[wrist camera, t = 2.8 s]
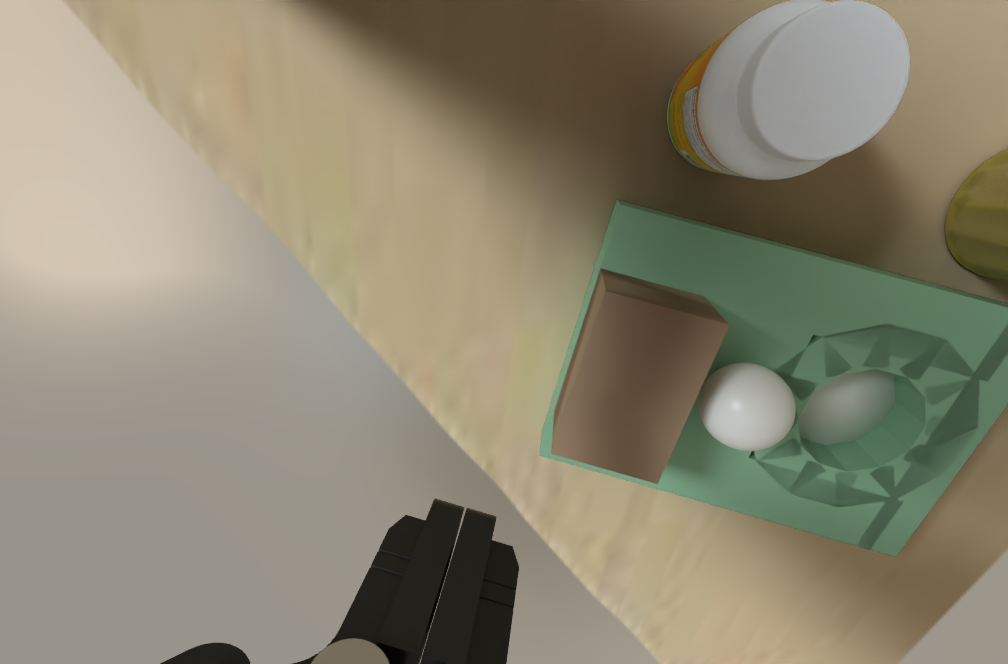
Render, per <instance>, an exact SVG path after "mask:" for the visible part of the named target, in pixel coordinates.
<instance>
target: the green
mask: <svg viewBox="0 0 1008 664" xmlns="http://www.w3.org/2000/svg"><path fill="white" fill-rule="evenodd" d="M600 268H602V269H605V270H609V271H613V272H616V273H620V274H624V275H628V276H631V277H635V278H639V279H642V280H646V281H650V282H653V283H657V284H661V285H664V286H668V287H672V288H676V289H679V290H683V291H687V292H690V293H694V294H698V295H701V296H704V297H705V298H706V299H707V300H708V301H709V302H710V303H711V305H712V306H713V307H714V308H715V309H716V310H717V311H718V312H719V314H720V315H721V316H722V317H723V318H724V319H725V320H726V321H727V322H728V324H729V327H728V329H727V332H726V334H725V336H724V338H723V340H722V343H721V345H720V347H719V349H718V352H717V354H716V356H715V358H714V360H713V363H712V365H711V367H710V369H709V371H708V374H707V376H706V378H705V380H704V383H705V381H706V380H707V379H708V377H709V376H710V375H711V374H713V373H714V372H715V371H717V370H718V369H720V368H722V367H724V366H727V365H730V364H735V363H752V364H757V365H761V366H764V367H766V368H768V369H770V370H772V371H773V372H775V373H776V374H778V375H779V376H780V377H781V378H782V379H783V380H784V381H785V382H786V384H787V385H788V386H789V388H790V390H791V392H792V394H793V397H794V400H795V407H796V413H795V419H794V423H793V425H792V427H791V429H790V431H789V432H788V434H787V435H786V436H785V437H784V438H783V439H782V440H781V441H780V442H778V443H777V444H775V445H774V446H771V447H769V448H766V449H763V450H758V451H742V450H737V449H734V448H731V447H728V446H726V445H724V444H722V443H721V442H719V441H718V440H716V439H715V438H714V437H713V436H712V435H711V434H710V433H709V432H708V431H707V429H706V427H705V426H704V424H703V422H702V420H701V418H700V414H699V409H698V398H699V394H700V391H701V389H700V391H699V394H698V396H697V398H696V400H695V403H694V405H693V407H692V409H691V411H690V414H689V416H688V418H687V420H686V422H685V425H684V427H683V429H682V431H681V434H680V436H679V438H678V440H677V442H676V445H675V447H674V449H673V451H672V454H671V456H670V458H669V460H668V462H667V465H666V467H665V469H664V471H663V473H662V476H661V478H660V480H659V482H658V484H655V483H652V482H648V481H645V480H641V479H638V478H634V477H631V476H627V475H624V474H620V473H617V472H613V471H610V470H606V469H603V468H599V467H596V466H592V465H589V464H585V463H582V462H578V461H575V460H571V459H568V458H564V457H561V456H557V455H554V454H551V449H552V434H553V420H554V409H555V406H556V403H557V400H558V397H559V394H560V391H561V388H562V385H563V382H564V379H565V376H566V372H567V369H568V366H569V363H570V360H571V357H572V354H573V351H574V348H575V345H576V342H577V339H578V336H579V333H580V330H581V327H582V323H583V320H584V317H585V314H586V311H587V308H588V305H589V302H590V299H591V296H592V293H593V290H594V287H595V284H596V281H597V278H598V275H599V271H600ZM704 383H703V384H704ZM702 386H703V385H702ZM701 388H702V387H701ZM1007 405H1008V303H1004V302H1000V301H997V300H993V299H989V298H985V297H981V296H978V295H974V294H970V293H966V292H963V291H959V290H955V289H951V288H948V287H944V286H940V285H936V284H932V283H929V282H925V281H921V280H917V279H914V278H910V277H906V276H902V275H899V274H895V273H891V272H887V271H883V270H880V269H876V268H872V267H868V266H865V265H861V264H857V263H853V262H850V261H846V260H842V259H838V258H834V257H831V256H827V255H823V254H819V253H816V252H812V251H808V250H804V249H801V248H797V247H793V246H789V245H785V244H782V243H778V242H774V241H770V240H767V239H763V238H759V237H755V236H752V235H748V234H744V233H740V232H736V231H733V230H729V229H725V228H721V227H718V226H714V225H710V224H706V223H703V222H699V221H695V220H691V219H687V218H684V217H680V216H676V215H672V214H669V213H665V212H661V211H657V210H654V209H650V208H646V207H642V206H638V205H635V204H631V203H627V202H623V201H620V200H616V203H615V206H614V209H613V212H612V215H611V218H610V221H609V225H608V228H607V231H606V234H605V237H604V240H603V243H602V246H601V249H600V253H599V256H598V259H597V262H596V265H595V268H594V271H593V274H592V277H591V280H590V284H589V287H588V290H587V293H586V296H585V299H584V302H583V305H582V308H581V312H580V315H579V318H578V321H577V324H576V327H575V330H574V333H573V336H572V340H571V343H570V346H569V349H568V352H567V355H566V358H565V361H564V364H563V367H562V371H561V374H560V377H559V380H558V383H557V386H556V389H555V392H554V395H553V399H552V402H551V405H550V408H549V411H548V414H547V417H546V420H545V423H544V427H543V430H542V436H541V445H540V454H539V455H540V456H543V457H547V458H550V459H554V460H557V461H561V462H564V463H568V464H571V465H575V466H578V467H582V468H585V469H589V470H592V471H596V472H599V473H603V474H606V475H610V476H613V477H617V478H620V479H624V480H627V481H631V482H634V483H638V484H641V485H645V486H648V487H652V488H655V489H659V490H662V491H666V492H669V493H673V494H676V495H680V496H683V497H687V498H690V499H694V500H697V501H701V502H704V503H708V504H711V505H715V506H718V507H722V508H725V509H729V510H732V511H736V512H739V513H743V514H746V515H750V516H753V517H757V518H760V519H764V520H767V521H771V522H774V523H778V524H781V525H785V526H788V527H792V528H795V529H799V530H802V531H806V532H809V533H813V534H816V535H820V536H823V537H827V538H830V539H834V540H837V541H841V542H844V543H848V544H851V545H855V546H858V547H862V548H865V549H869V550H872V551H876V552H879V553H883V554H886V555H890V556H893V557H896V556H897V555H898V553H899V552H900V551H901V549H902V548H903V546H904V545H905V544H906V542H907V541H908V540H909V538H910V537H911V536H912V534H913V533H914V531H915V530H916V529H917V527H918V526H919V525H920V523H921V522H922V521H923V519H924V518H925V517H926V515H927V514H928V512H929V511H930V510H931V508H932V507H933V506H934V504H935V503H936V502H937V500H938V499H939V497H940V496H941V495H942V493H943V492H944V491H945V489H946V488H947V487H948V485H949V484H950V483H951V481H952V480H953V478H954V477H955V476H956V474H957V473H958V472H959V470H960V469H961V468H962V466H963V465H964V463H965V462H966V461H967V459H968V458H969V457H970V455H971V454H972V453H973V451H974V450H975V448H976V447H977V446H978V444H979V443H980V442H981V440H982V439H983V438H984V436H985V435H986V434H987V432H988V431H989V429H990V428H991V427H992V425H993V424H994V423H995V421H996V420H997V419H998V417H999V416H1000V414H1001V413H1002V412H1003V410H1004V409H1005V408H1006V406H1007Z"/></svg>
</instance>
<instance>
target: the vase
mask: <svg viewBox="0 0 1008 664" xmlns="http://www.w3.org/2000/svg"><path fill="white" fill-rule="evenodd" d="M945 237H946V241H947V245H948V248H949V250H950V252H951V253H952V255H953V256H954V258H955V259H956V260H957V261H958V262H959V263H960V264H961V265H963V266H964V267H966V268H968V269H969V270H971V271H973V272H975V273H977V274H979V275H981V276H983V277H991V278H998V279H1002V280H1007V281H1008V149H1006V150H1004V151H1002V152H1000V153H998V154H997V155H995V156H993V157H991V158H990V159H988V160H987V161H985V162H984V163H983V164H981V165H980V166H979V167H978V168H976V169H975V170H974V171H973V172H972V173H971V174H970V176H969V177H968V178H967V179H966V180H965V181H964V183H963V184H962V185H961V187H960V188H959V190H958V191H957V193H956V194H955V196H954V198H953V200H952V202H951V204H950V206H949V209H948V212H947V217H946V222H945Z"/></svg>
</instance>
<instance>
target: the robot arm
mask: <svg viewBox="0 0 1008 664" xmlns="http://www.w3.org/2000/svg"><path fill="white" fill-rule="evenodd" d="M463 511H464V507H462V506H458V505H455V504H452V503H448V502H445V501H442V500H438V499H435V500H434V501H433V504H432V507H431V509H430V511H429V514H428V516H427V519H426V521H425V520H421V519H418V518H415V517H411V516H408V515H405V516H404V517H403V518H402V519H400V520H399V521H398V522H397V523H395V524H394V525H393V526H392V527H391V528H389V530H388V532H387V534H386V536H385V538H384V540H383V542H382V544H381V546H380V549H379V551H378V552H377V555H376V556H375V559H374V561H373V563H372V565H371V568H370V569H369V571H368V573H367V575H366V577H365V579H364V581H363V583H362V585H361V587H360V589H359V591H358V593H357V595H356V597H355V600H354V601H353V603H352V605H351V607H350V609H349V611H348V613H347V615H346V618H345V620H344V622H343V624H342V626H341V628H340V630H339V631H338V633H337V635H336V636H335V638H334V639H333V640H332V642H331V643H330V644H329V645H328V646H327V647H326V648H324V649H323V650H322V651H320V652H319V653H318V654H316V655H314V656H312V657H311V658H309V659H306V660H304V661H301V662H297V663H293V664H419V662H420V659H421V656H422V659H421V663H420V664H506V661H507V654H508V646H509V639H510V631H511V624H512V616H513V607H514V600H515V594H516V593H515V591H516V586H517V578H518V571H519V566H518V563H517V559H516V556H515V553H514V550H513V547H512V546H509V545H506V544H502V543H499V542H496V541H493V540H492V536H493V531H494V526H495V522H496V516H493V515H490V514H486V513H483V512H480V511H476V510H473V509H469V508H467V510H466V513H465V516H464V519H463V523H462V526H461V529H460V533H459V536H458V539H457V542H456V546H455V549H454V552H453V548H454V544H455V540H456V537H457V533H458V529H459V526H460V522H461V518H462V515H463ZM452 552H453V556H452V559H451V555H452ZM450 559H451V562H450ZM449 563H450V566H449ZM448 566H449V569H448ZM447 570H448V572H447ZM446 573H447V576H446ZM445 577H446V579H445ZM444 580H445V582H444ZM443 583H444V586H443ZM442 587H443V589H442ZM441 590H442V592H441ZM440 593H441V596H440ZM439 597H440V599H439ZM438 600H439V602H438ZM437 603H438V605H437ZM436 606H437V609H436ZM435 610H436V612H435ZM434 613H435V616H434ZM433 616H434V619H433ZM432 620H433V622H432ZM431 623H432V625H431ZM430 626H431V629H430ZM429 630H430V632H429ZM428 632H429V636H428ZM427 636H428V639H427ZM426 639H427V642H426ZM425 643H426V646H425ZM424 646H425V649H424ZM423 649H424V652H423ZM422 653H423V655H422ZM161 664H250V661H249V659H248V657H247V656H246V654H245V653H244V652H243V651H242V650H240V649H239V648H237V647H235V646H233V645H230V644H226V643H209V644H204V645H200V646H197V647H195V648H192V649H189V650H187V651H185V652H183V653H181V654H179V655H177V656H175V657H173V658H171V659H169V660H167V661H165V662H163V663H161Z"/></svg>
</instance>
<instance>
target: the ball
mask: <svg viewBox="0 0 1008 664" xmlns="http://www.w3.org/2000/svg"><path fill="white" fill-rule="evenodd" d="M698 409H699V414H700V418H701V420H702V422H703V424H704V426H705V427H706V429H707V431H708V432H709V433H710V434H711V435H712V436H713V437H714V438H715V439H716V440H718V441H719V442H721V443H722V444H724V445H726V446H728V447H731V448H734V449H737V450H742V451H758V450H763V449H766V448H769V447H771V446H774V445H775V444H777V443H778V442H780V441H781V440H782V439H783V438H784V437H785V436H786V435H787V434H788V432H789V431H790V429H791V427H792V425H793V423H794V419H795V413H796V407H795V400H794V397H793V394H792V392H791V390H790V388H789V386H788V385H787V384H786V382H785V381H784V380H783V379H782V378H781V377H780V376H779V375H778V374H776V373H775V372H773V371H772V370H770V369H768V368H766V367H764V366H761V365H757V364H752V363H735V364H730V365H727V366H724V367H722V368H720V369H718V370H717V371H715V372H714V373H713V374H711V375H710V376H709V377H708V379H707V380H706V381H705V383H704V384H703V386H702V388H701V391H700V394H699V398H698Z"/></svg>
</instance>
